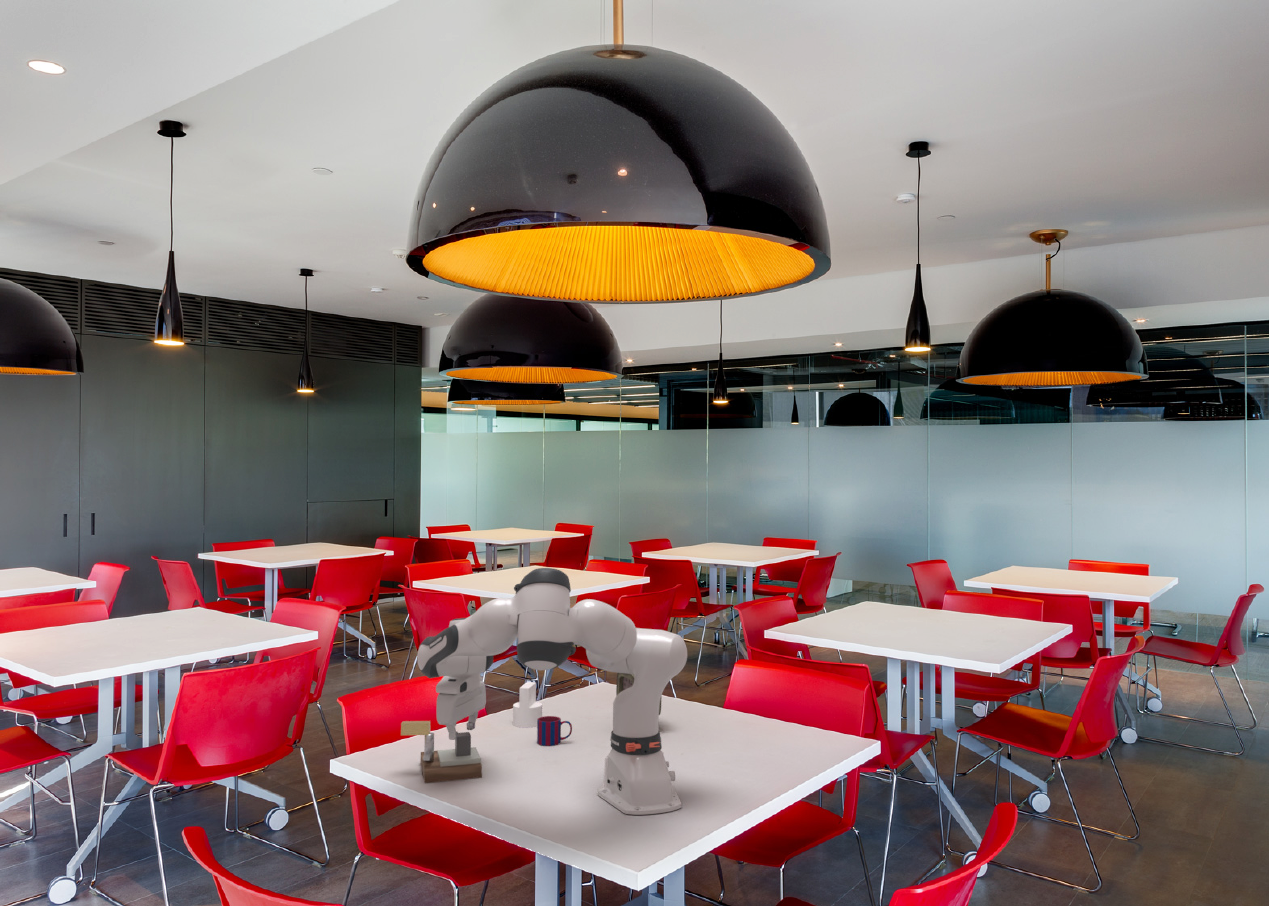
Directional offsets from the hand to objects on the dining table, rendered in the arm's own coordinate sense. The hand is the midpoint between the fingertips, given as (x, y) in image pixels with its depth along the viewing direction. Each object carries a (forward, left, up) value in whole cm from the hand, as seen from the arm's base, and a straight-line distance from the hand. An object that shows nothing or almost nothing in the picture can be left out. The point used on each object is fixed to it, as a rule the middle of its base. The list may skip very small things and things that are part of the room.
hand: (462, 734), depth 219 cm
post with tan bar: (0, +11, -6) cm, 13 cm away
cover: (0, +1, -6) cm, 6 cm away
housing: (+1, +3, -9) cm, 10 cm away
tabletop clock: (+24, -56, -10) cm, 62 cm away
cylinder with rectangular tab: (+40, -25, -10) cm, 48 cm away
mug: (+17, -28, -10) cm, 34 cm away
